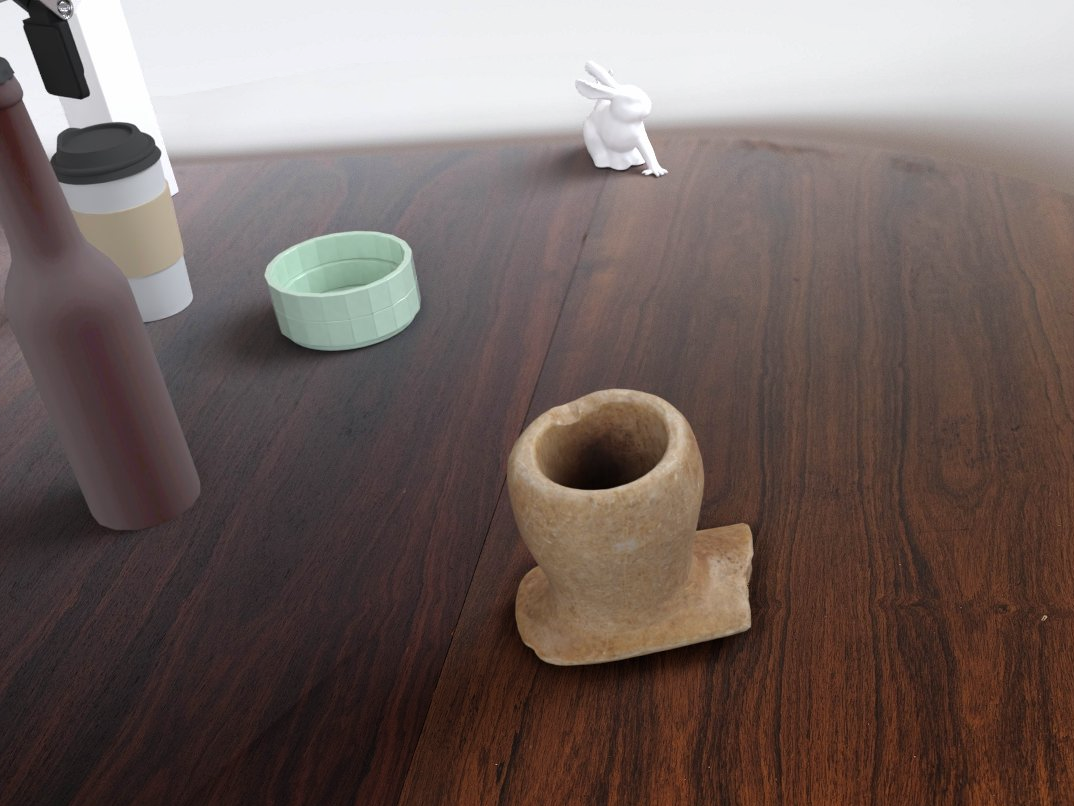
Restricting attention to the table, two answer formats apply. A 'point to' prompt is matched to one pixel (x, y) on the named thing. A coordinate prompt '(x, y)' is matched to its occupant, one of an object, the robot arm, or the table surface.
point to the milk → (111, 75)
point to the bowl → (344, 290)
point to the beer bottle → (86, 342)
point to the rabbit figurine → (616, 123)
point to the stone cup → (621, 534)
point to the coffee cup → (126, 210)
